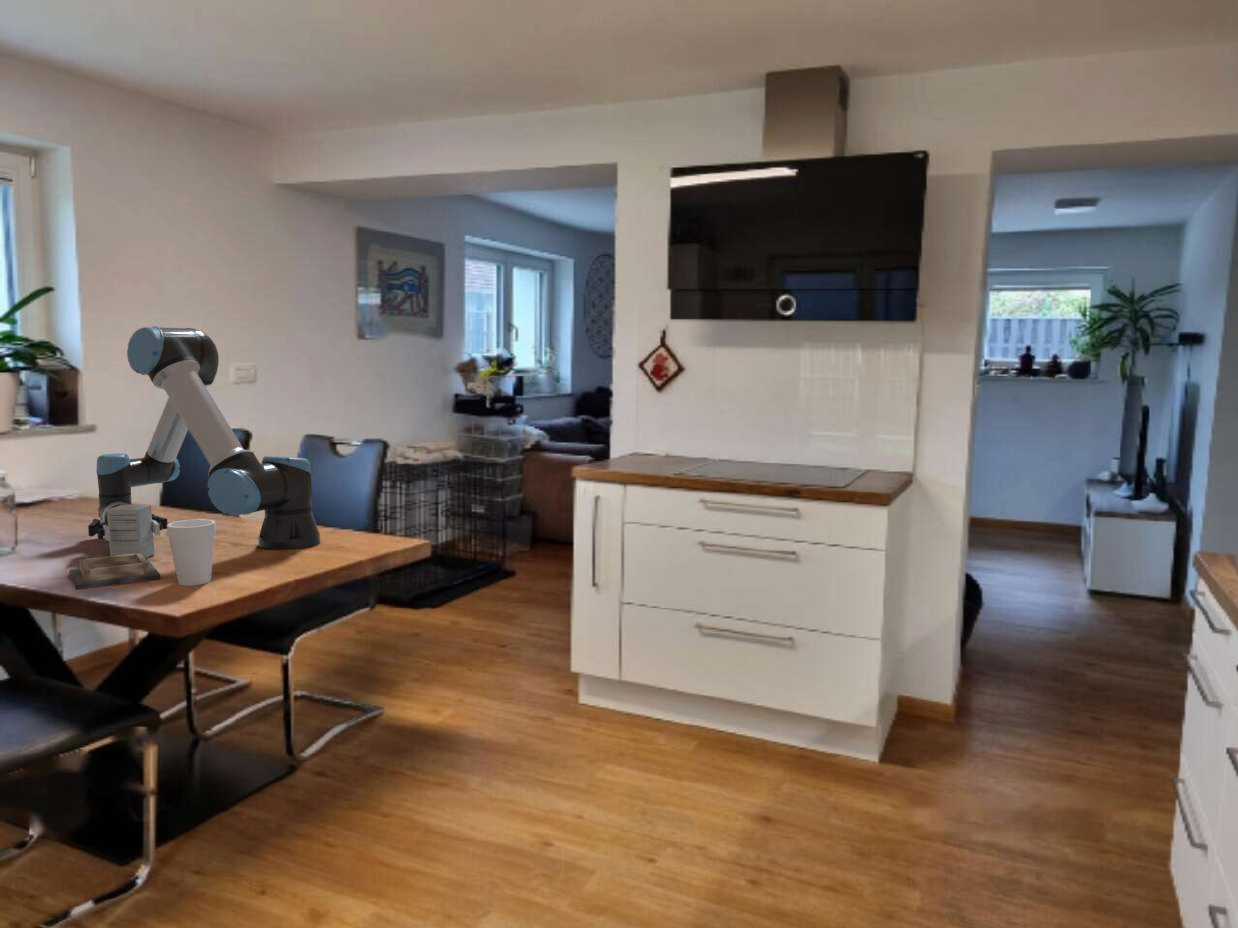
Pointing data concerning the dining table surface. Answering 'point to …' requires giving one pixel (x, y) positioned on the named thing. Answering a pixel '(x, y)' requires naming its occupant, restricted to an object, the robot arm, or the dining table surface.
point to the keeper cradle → (113, 571)
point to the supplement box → (131, 530)
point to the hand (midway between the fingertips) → (133, 532)
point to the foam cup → (192, 550)
